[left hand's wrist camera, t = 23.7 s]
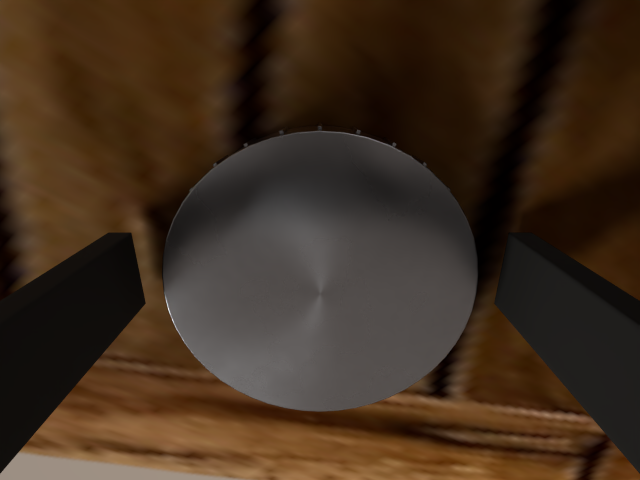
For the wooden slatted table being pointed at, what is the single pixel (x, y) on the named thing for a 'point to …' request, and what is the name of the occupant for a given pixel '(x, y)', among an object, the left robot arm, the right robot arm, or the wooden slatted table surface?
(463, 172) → the wooden slatted table surface
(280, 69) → the wooden slatted table surface
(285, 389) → the lid
